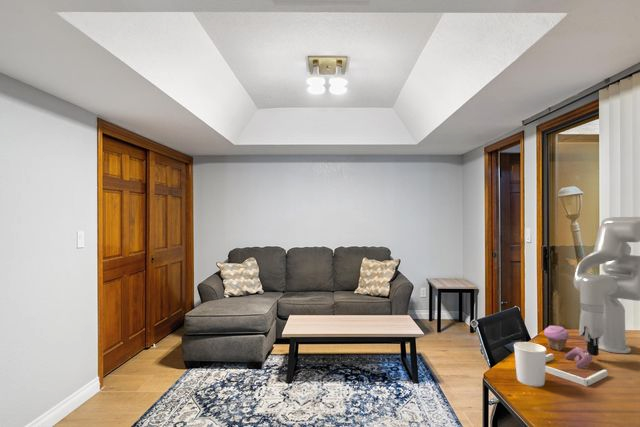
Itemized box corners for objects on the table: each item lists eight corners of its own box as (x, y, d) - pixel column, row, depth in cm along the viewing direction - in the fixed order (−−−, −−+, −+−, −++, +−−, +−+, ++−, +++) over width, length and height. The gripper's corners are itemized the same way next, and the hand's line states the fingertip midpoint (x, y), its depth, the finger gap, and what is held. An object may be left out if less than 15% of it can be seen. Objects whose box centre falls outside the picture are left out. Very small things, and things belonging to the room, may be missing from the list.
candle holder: (509, 375, 129) (508, 341, 129) (536, 375, 128) (536, 341, 128) (523, 388, 119) (523, 351, 119) (553, 388, 118) (552, 351, 119)
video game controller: (588, 373, 133) (597, 357, 132) (575, 367, 133) (584, 350, 133) (574, 362, 142) (582, 347, 142) (563, 357, 143) (571, 341, 143)
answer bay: (550, 358, 143) (550, 353, 143) (607, 375, 127) (607, 370, 127) (529, 366, 136) (529, 361, 136) (587, 386, 119) (586, 380, 119)
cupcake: (540, 347, 155) (540, 324, 155) (551, 344, 159) (550, 321, 159) (562, 354, 147) (562, 330, 147) (573, 350, 151) (573, 326, 152)
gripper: (590, 304, 149) (590, 348, 148) (572, 308, 141) (572, 354, 141) (611, 307, 142) (612, 354, 142) (594, 312, 135) (595, 361, 134)
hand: (592, 354), depth 141 cm, fingers closed
